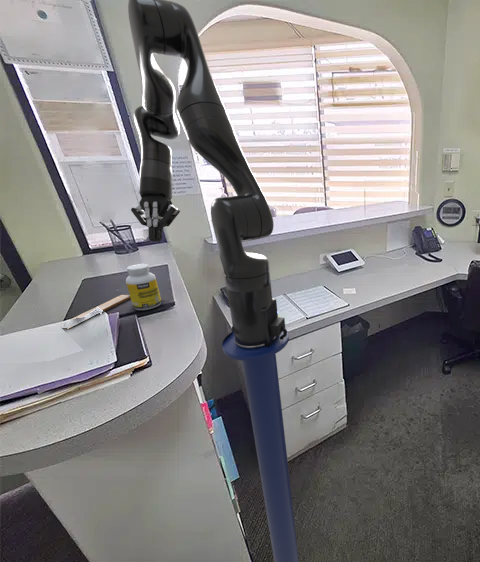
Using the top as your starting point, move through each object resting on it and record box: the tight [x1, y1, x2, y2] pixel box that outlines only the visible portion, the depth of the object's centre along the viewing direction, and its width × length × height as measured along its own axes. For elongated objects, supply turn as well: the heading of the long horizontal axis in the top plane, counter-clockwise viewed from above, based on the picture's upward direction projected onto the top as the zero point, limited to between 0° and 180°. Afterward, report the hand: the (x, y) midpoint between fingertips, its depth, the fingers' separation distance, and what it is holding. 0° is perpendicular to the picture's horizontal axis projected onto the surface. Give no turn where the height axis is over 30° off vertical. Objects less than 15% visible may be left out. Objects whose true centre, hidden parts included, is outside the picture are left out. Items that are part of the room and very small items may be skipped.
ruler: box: [69, 294, 131, 320], centre depth 82 cm, size 3×18×1 cm, turn 174°
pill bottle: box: [125, 263, 162, 311], centre depth 84 cm, size 6×6×12 cm
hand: (155, 241), depth 86 cm, fingers closed
